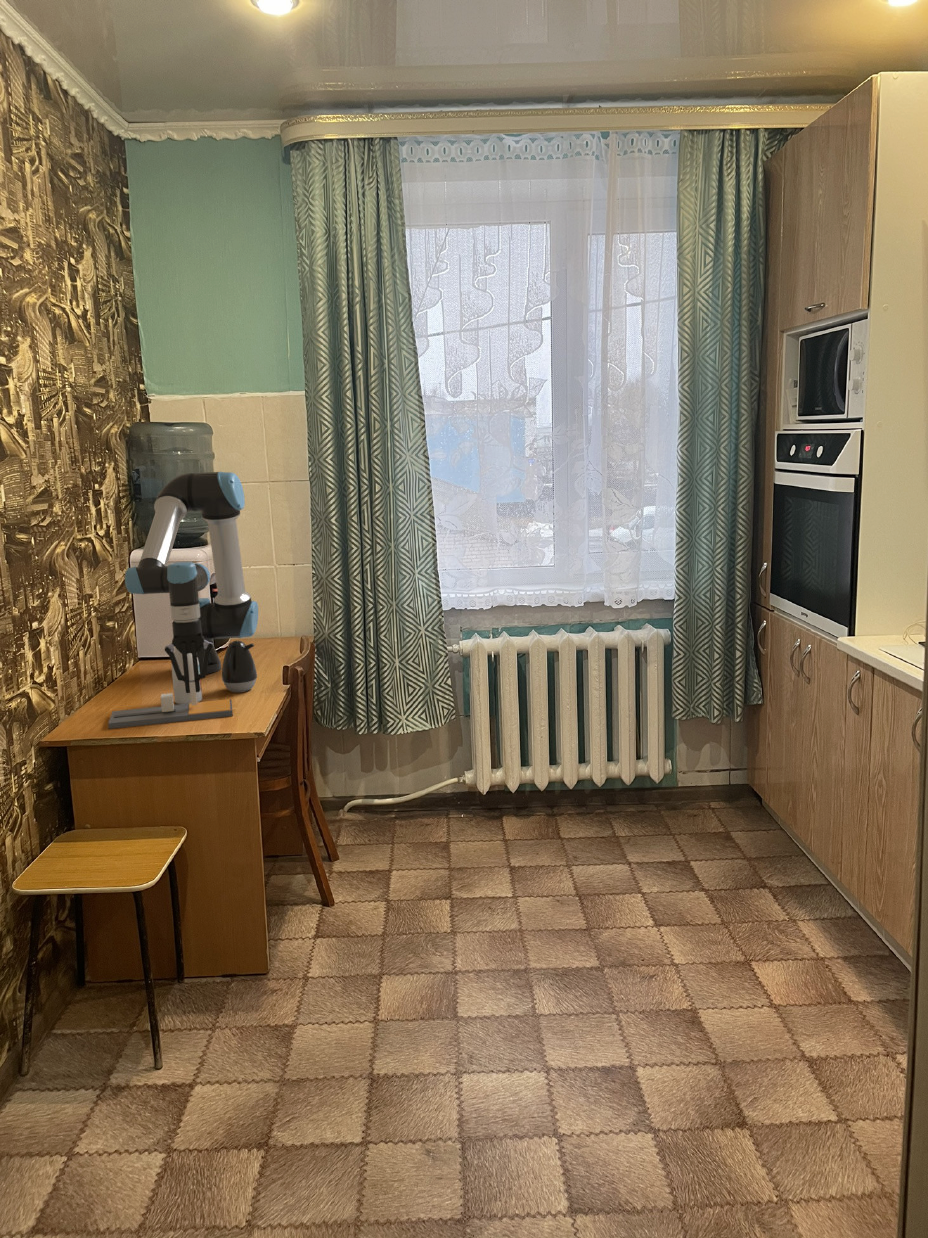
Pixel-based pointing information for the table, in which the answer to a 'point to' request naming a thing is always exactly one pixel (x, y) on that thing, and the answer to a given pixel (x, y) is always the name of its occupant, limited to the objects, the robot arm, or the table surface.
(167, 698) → the handle
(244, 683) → the pump dispenser
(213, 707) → the board
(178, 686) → the milk bottle
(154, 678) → the table surface
